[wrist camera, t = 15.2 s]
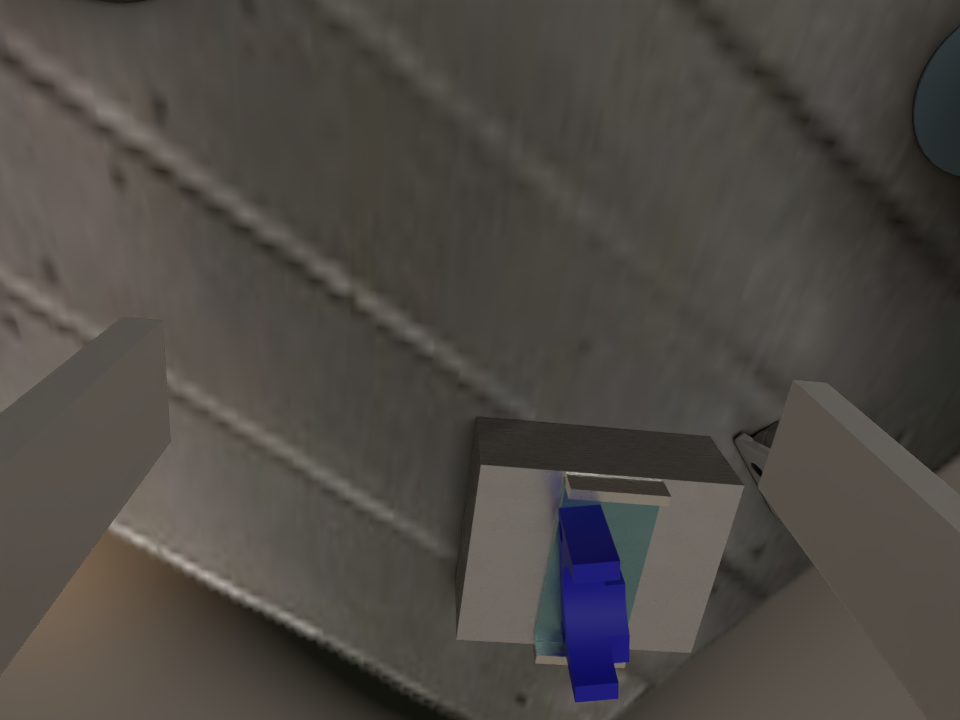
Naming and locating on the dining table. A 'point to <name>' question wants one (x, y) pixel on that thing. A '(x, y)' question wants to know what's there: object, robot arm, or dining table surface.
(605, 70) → the dining table surface
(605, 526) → the blue stepped piece
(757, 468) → the electrical switch
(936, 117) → the cocktail glass
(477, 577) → the white boxy block
